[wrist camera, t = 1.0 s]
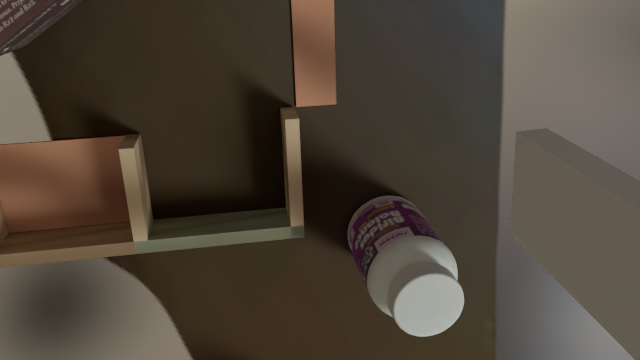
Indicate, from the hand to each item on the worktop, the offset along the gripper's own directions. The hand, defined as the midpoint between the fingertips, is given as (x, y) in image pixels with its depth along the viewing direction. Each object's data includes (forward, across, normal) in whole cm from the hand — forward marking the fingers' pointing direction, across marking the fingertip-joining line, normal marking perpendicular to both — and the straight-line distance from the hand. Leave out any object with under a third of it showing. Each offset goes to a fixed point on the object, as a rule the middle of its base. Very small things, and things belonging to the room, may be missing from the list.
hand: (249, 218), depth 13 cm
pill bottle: (+22, +8, -13) cm, 27 cm away
